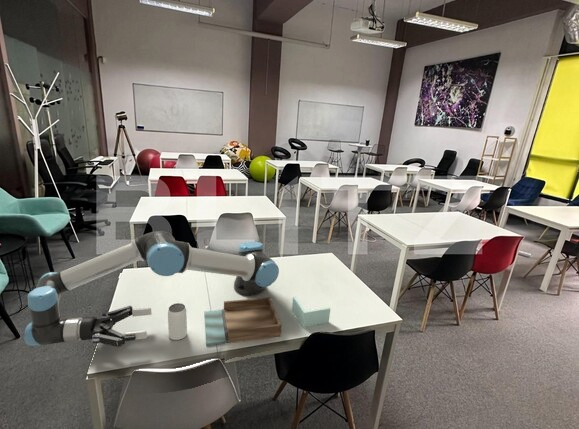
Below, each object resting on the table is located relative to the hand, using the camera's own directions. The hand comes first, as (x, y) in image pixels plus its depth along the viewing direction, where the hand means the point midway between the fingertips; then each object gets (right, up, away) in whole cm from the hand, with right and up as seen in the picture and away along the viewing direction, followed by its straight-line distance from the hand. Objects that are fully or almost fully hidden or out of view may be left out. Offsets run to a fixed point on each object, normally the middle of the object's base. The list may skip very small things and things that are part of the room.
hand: (149, 322), depth 116 cm
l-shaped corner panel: (+60, -6, +22) cm, 64 cm away
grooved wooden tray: (+31, -6, +14) cm, 34 cm away
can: (+9, -7, +5) cm, 12 cm away
